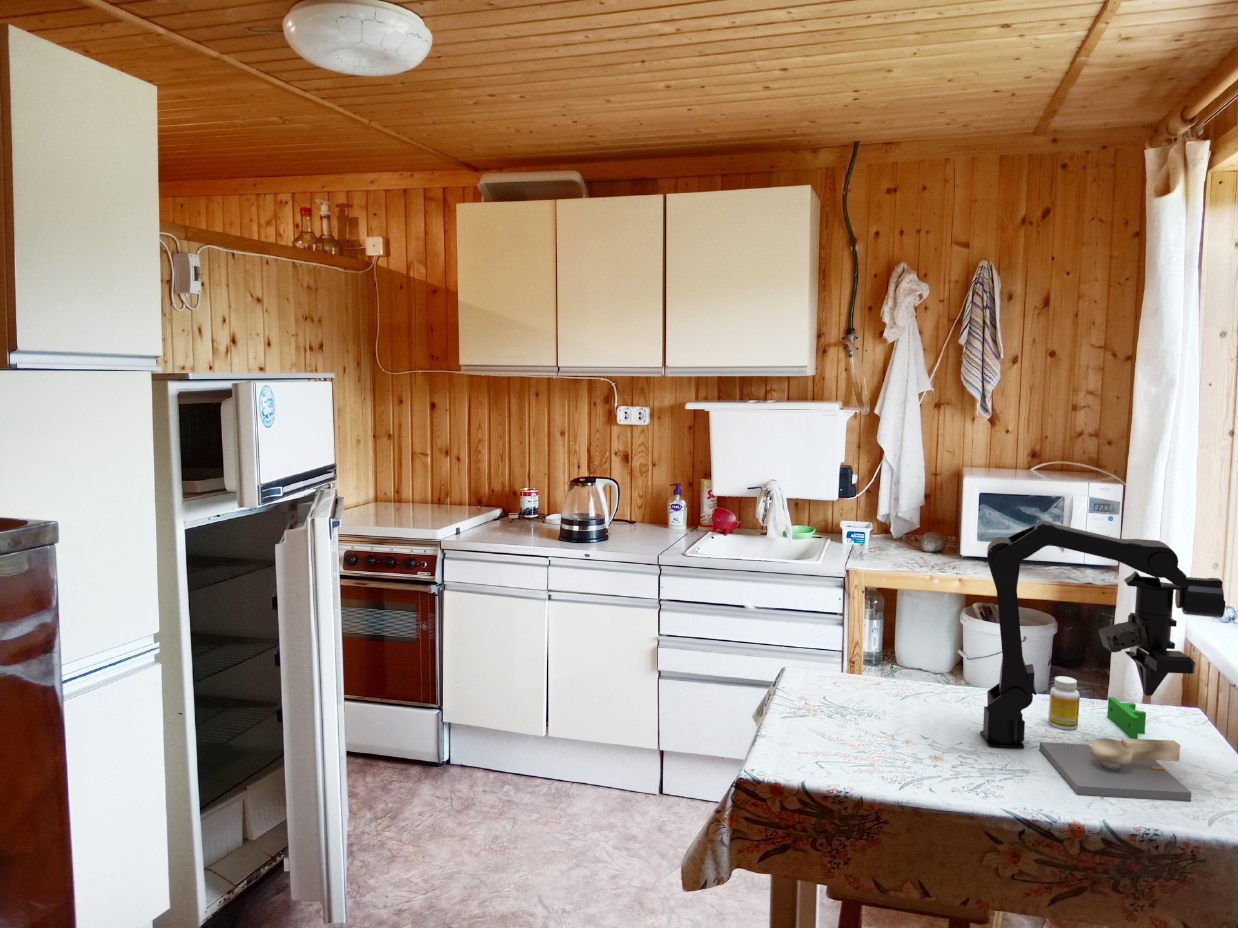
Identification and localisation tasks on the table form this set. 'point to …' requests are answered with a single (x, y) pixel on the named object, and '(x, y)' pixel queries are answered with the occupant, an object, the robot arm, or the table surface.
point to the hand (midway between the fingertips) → (1147, 694)
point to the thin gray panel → (1112, 774)
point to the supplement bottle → (1064, 703)
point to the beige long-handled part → (1134, 750)
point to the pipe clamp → (1126, 717)
